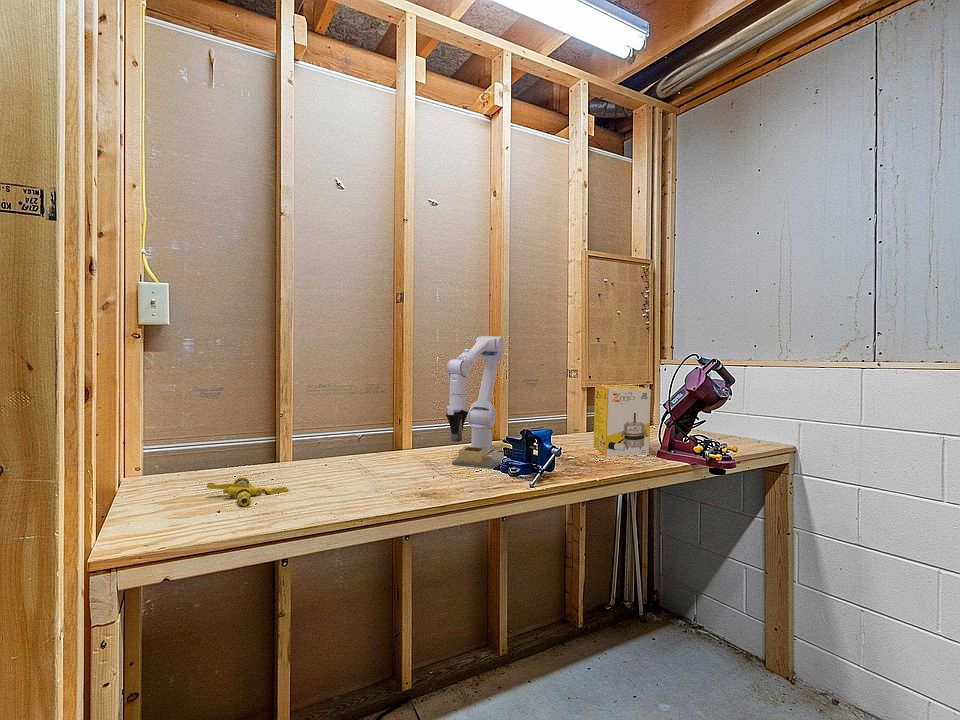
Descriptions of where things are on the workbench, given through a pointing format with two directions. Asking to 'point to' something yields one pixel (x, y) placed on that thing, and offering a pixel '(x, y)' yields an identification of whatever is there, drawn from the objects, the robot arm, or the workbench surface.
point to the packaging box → (622, 420)
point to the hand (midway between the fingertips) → (457, 432)
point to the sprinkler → (244, 490)
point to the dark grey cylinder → (457, 436)
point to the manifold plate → (478, 457)
